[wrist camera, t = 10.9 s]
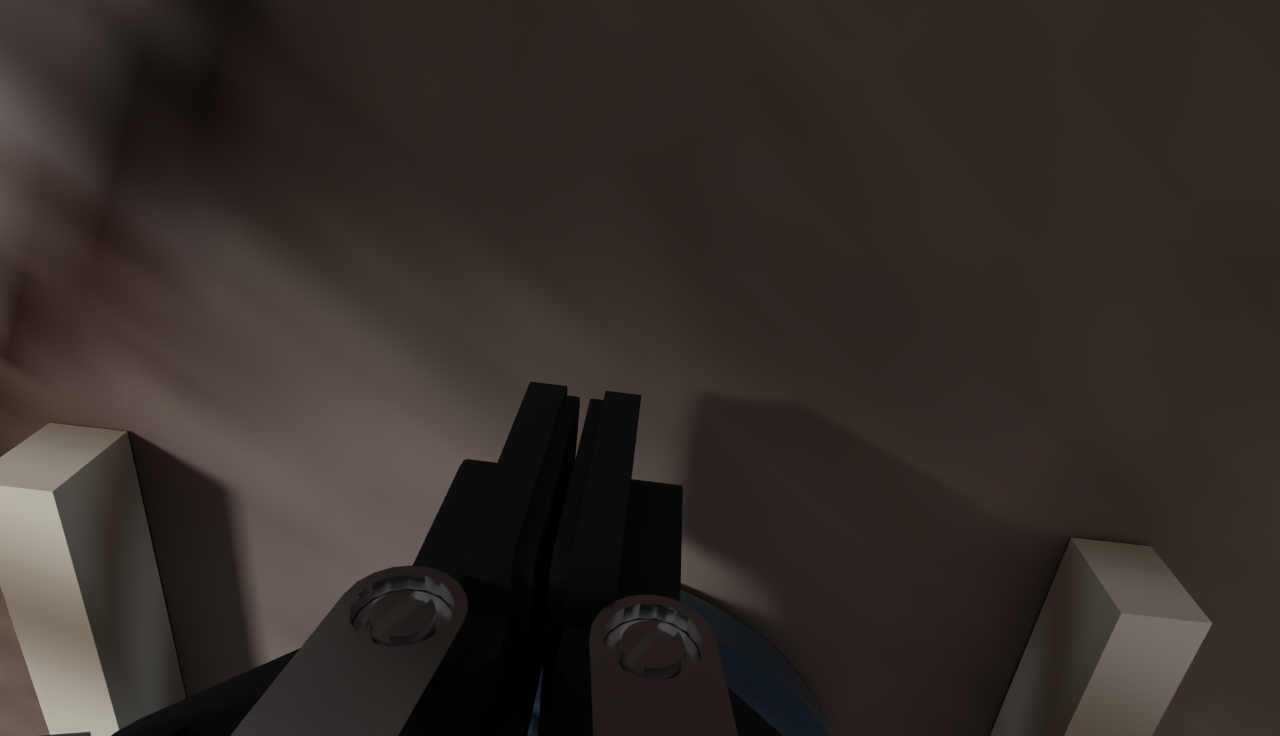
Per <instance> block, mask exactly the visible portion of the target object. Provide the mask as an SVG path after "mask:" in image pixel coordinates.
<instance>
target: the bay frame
mask: <svg viewBox="0 0 1280 736" xmlns="http://www.w3.org/2000/svg"><path fill="white" fill-rule="evenodd" d="M0 586H1V589H2V592H3V595H4V598H5V601H6V604H7V607H8V610H9V613H10V616H11V619H12V622H13V625H14V628H15V631H16V634H17V637H18V640H19V643H20V646H21V649H22V652H23V655H24V658H25V661H26V664H27V667H28V670H29V673H30V676H31V679H32V682H33V685H34V688H35V691H36V694H37V697H38V700H39V703H40V706H41V709H42V712H43V715H44V718H45V721H46V724H47V727H48V730H49V733H50V735H54V734H67V733H81V732H90V733H91V736H111V735H112V734H114V733H115V732H117V731H118V730H120V729H122V728H124V727H126V726H127V725H129V724H131V723H133V722H135V721H136V720H138V719H140V718H143V717H145V716H147V715H149V714H152V713H154V712H156V711H159V710H161V709H163V708H165V707H168V706H170V705H172V704H174V703H177V702H179V701H181V700H184V699H186V695H185V690H184V686H183V681H182V677H181V672H180V668H179V663H178V659H177V654H176V650H175V645H174V641H173V636H172V632H171V627H170V623H169V618H168V614H167V609H166V605H165V600H164V595H163V591H162V586H161V582H160V577H159V573H158V568H157V564H156V559H155V555H154V550H153V546H152V541H151V537H150V532H149V528H148V523H147V519H146V514H145V510H144V505H143V501H142V496H141V491H140V487H139V482H138V478H137V473H136V469H135V464H134V460H133V455H132V451H131V446H130V442H129V437H128V433H127V431H119V430H110V429H101V428H92V427H83V426H74V425H65V424H57V423H49V424H48V425H46V426H45V427H43V428H42V429H40V430H39V431H38V432H36V433H35V434H33V435H32V436H30V437H29V438H28V439H26V440H25V441H23V442H22V443H20V444H19V445H18V446H16V447H15V448H13V449H12V450H10V451H9V452H7V453H6V454H5V455H3V456H2V457H0ZM1211 625H1212V622H1211V621H1210V620H1209V619H1208V617H1207V616H1206V615H1205V614H1204V612H1203V611H1202V610H1201V609H1200V607H1199V606H1198V605H1197V603H1196V602H1195V601H1194V600H1193V598H1192V597H1191V596H1190V595H1189V593H1188V592H1187V591H1186V590H1185V588H1184V587H1183V586H1182V585H1181V583H1180V582H1179V581H1178V580H1177V578H1176V577H1175V576H1174V574H1173V573H1172V572H1171V571H1170V569H1169V568H1168V567H1167V566H1166V564H1165V563H1164V562H1163V561H1162V559H1161V558H1160V557H1159V556H1158V554H1157V553H1156V552H1155V551H1154V549H1153V548H1152V547H1151V546H1143V545H1134V544H1125V543H1116V542H1107V541H1098V540H1089V539H1080V538H1071V539H1070V541H1069V544H1068V546H1067V549H1066V551H1065V553H1064V556H1063V558H1062V561H1061V563H1060V566H1059V568H1058V571H1057V573H1056V575H1055V578H1054V580H1053V583H1052V585H1051V588H1050V590H1049V593H1048V595H1047V597H1046V600H1045V602H1044V605H1043V607H1042V610H1041V612H1040V615H1039V617H1038V619H1037V622H1036V624H1035V627H1034V629H1033V632H1032V634H1031V637H1030V639H1029V641H1028V644H1027V646H1026V649H1025V651H1024V654H1023V656H1022V659H1021V661H1020V663H1019V666H1018V668H1017V671H1016V673H1015V676H1014V678H1013V681H1012V683H1011V685H1010V688H1009V690H1008V693H1007V695H1006V698H1005V700H1004V703H1003V705H1002V707H1001V710H1000V712H999V715H998V717H997V720H996V722H995V725H994V727H993V729H992V732H991V734H990V736H1152V735H1153V733H1154V731H1155V729H1156V728H1157V726H1158V724H1159V722H1160V720H1161V718H1162V716H1163V715H1164V713H1165V711H1166V709H1167V707H1168V705H1169V703H1170V702H1171V700H1172V698H1173V696H1174V694H1175V692H1176V690H1177V689H1178V687H1179V685H1180V683H1181V681H1182V679H1183V677H1184V675H1185V674H1186V672H1187V670H1188V668H1189V666H1190V664H1191V662H1192V661H1193V659H1194V657H1195V655H1196V653H1197V651H1198V649H1199V648H1200V646H1201V644H1202V642H1203V640H1204V638H1205V636H1206V635H1207V633H1208V631H1209V629H1210V627H1211Z"/></svg>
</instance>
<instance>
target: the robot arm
mask: <svg viewBox="0 0 1280 736" xmlns="http://www.w3.org/2000/svg"><path fill="white" fill-rule="evenodd" d="M640 402H641V395H636V394H628V393H620V392H611V391H606V392H605V397H604V400H599V399H590V402H589V406H588V411H587V415H586V419H585V423H584V427H583V431H582V435H581V439H580V443H579V447H578V451H577V455H576V444H577V431H578V419H579V406H580V397H574V396H567V386H562V385H554V384H545V383H537V382H530V384H529V386H528V388H527V391H526V393H525V396H524V398H523V401H522V403H521V406H520V408H519V411H518V413H517V416H516V418H515V421H514V423H513V426H512V428H511V431H510V433H509V436H508V438H507V441H506V443H505V446H504V448H503V450H502V453H501V455H500V458H499V460H498V463H494V462H486V461H478V460H470V459H466V460H464V461H463V462H462V464H461V465H460V467H459V469H458V471H457V474H456V476H455V478H454V480H453V482H452V484H451V486H450V488H449V490H448V492H447V495H446V497H445V499H444V501H443V503H442V505H441V507H440V509H439V511H438V513H437V516H436V518H435V520H434V522H433V524H432V526H431V528H430V530H429V532H428V534H427V537H426V539H425V541H424V543H423V545H422V547H421V549H420V551H419V553H418V555H417V558H416V560H415V562H414V564H413V566H401V567H392V568H388V569H385V570H382V571H378V572H375V573H372V574H371V575H369V576H367V577H365V578H363V579H361V580H360V581H358V582H356V583H355V584H354V585H353V586H352V587H351V588H350V589H349V590H348V591H347V592H345V593H344V594H343V596H342V597H341V598H340V599H339V601H338V602H337V603H336V604H335V606H334V607H333V608H332V609H331V611H330V612H329V613H328V614H327V616H326V617H325V618H324V619H323V621H322V622H321V623H320V624H319V626H318V627H317V628H316V629H315V631H314V632H313V633H312V634H311V636H310V637H309V638H308V639H307V641H306V642H305V643H304V644H303V646H302V647H301V648H300V649H297V650H295V651H293V652H291V653H288V654H286V655H284V656H282V657H279V658H277V659H275V660H272V661H270V662H268V663H266V664H263V665H261V666H259V667H256V668H254V669H252V670H250V671H247V672H245V673H243V674H241V675H238V676H236V677H234V678H231V679H229V680H227V681H225V682H222V683H220V684H218V685H215V686H213V687H211V688H209V689H206V690H204V691H202V692H200V693H197V694H195V695H193V696H190V697H188V698H186V699H184V700H181V701H179V702H177V703H174V704H172V705H170V706H168V707H165V708H163V709H161V710H159V711H156V712H154V713H152V714H149V715H147V716H145V717H143V718H140V719H138V720H136V721H135V722H133V723H131V724H129V725H127V726H126V727H124V728H122V729H120V730H118V731H117V732H115V733H114V734H112V735H111V736H528V731H529V726H530V722H531V717H532V713H533V708H534V704H535V699H536V695H537V690H538V685H539V681H540V676H541V672H542V684H541V699H540V713H539V728H538V736H783V735H782V734H781V733H779V732H778V731H777V730H776V729H775V728H774V727H773V726H772V725H770V724H769V723H768V722H767V721H766V720H765V719H764V718H763V717H761V716H760V715H759V714H758V713H757V712H756V711H755V710H754V709H752V708H751V707H750V706H749V705H748V704H747V703H746V702H745V701H743V700H742V699H741V698H740V697H739V696H738V695H737V694H736V693H734V692H733V691H732V690H731V689H730V688H729V687H728V686H727V685H726V680H725V676H724V671H723V667H722V663H721V658H720V654H719V649H718V645H717V641H716V638H715V636H714V634H713V631H712V629H711V627H710V625H709V624H708V623H707V622H706V621H705V619H704V618H703V617H702V616H701V615H700V614H699V613H698V612H696V611H695V610H693V609H692V608H690V607H689V606H687V605H686V604H684V603H682V602H680V583H681V542H682V500H683V487H682V485H674V484H666V483H658V482H649V481H641V480H633V479H631V478H632V469H633V461H634V452H635V444H636V436H637V427H638V419H639V411H640ZM575 456H576V459H575ZM542 667H543V670H542ZM40 736H91V733H90V732H81V733H67V734H54V735H40Z"/></svg>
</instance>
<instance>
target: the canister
mask: <svg viewBox="0 0 1280 736" xmlns="http://www.w3.org/2000/svg"><path fill="white" fill-rule="evenodd" d="M680 602H682V603H684V604H686V605H687V606H689V607H690V608H692V609H693V610H695V611H696V612H698V613H699V614H700V615H701V616H702V617H703V618H704V619H705V621H706V622H707V623H708V624H709V625H710V627H711V629H712V631H713V634H714V636H715V638H716V641H717V645H718V649H719V654H720V658H721V663H722V667H723V671H724V676H725V680H726V685H727V686H728V687H729V688H730V689H731V690H732V691H733V692H734V693H736V694H737V695H738V696H739V697H740V698H741V699H742V700H743V701H745V702H746V703H747V704H748V705H749V706H750V707H751V708H752V709H754V710H755V711H756V712H757V713H758V714H759V715H760V716H761V717H763V718H764V719H765V720H766V721H767V722H768V723H769V724H770V725H772V726H773V727H774V728H775V729H776V730H777V731H778V732H779V733H781V734H782V735H783V736H831V733H830V729H829V726H828V724H827V721H826V719H825V716H824V714H823V711H822V709H821V707H820V706H819V704H818V702H817V700H816V698H815V696H814V694H813V693H812V691H811V690H810V688H809V687H808V685H807V684H806V682H805V681H804V680H803V678H802V677H801V676H800V675H799V673H798V672H797V671H796V670H795V668H794V667H793V666H792V665H791V664H790V663H789V662H788V661H787V660H786V659H785V658H784V657H783V656H782V655H781V653H780V652H779V651H777V650H776V649H775V648H774V647H773V646H772V645H771V644H770V643H768V642H767V641H766V640H765V639H764V638H763V637H761V636H760V635H759V634H757V633H756V632H755V631H753V630H752V629H751V628H749V627H748V626H747V625H745V624H744V623H742V622H741V621H739V620H738V619H736V618H734V617H733V616H731V615H730V614H728V613H727V612H725V611H723V610H721V609H719V608H717V607H716V606H714V605H712V604H710V603H708V602H706V601H704V600H702V599H700V598H698V597H696V596H693V595H691V594H689V593H687V592H684V591H682V590H680ZM542 670H543V667H542ZM541 684H542V672H541V676H540V681H539V685H538V690H537V695H536V699H535V704H534V708H533V713H532V717H531V722H530V726H529V731H528V736H538V728H539V713H540V699H541Z"/></svg>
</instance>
